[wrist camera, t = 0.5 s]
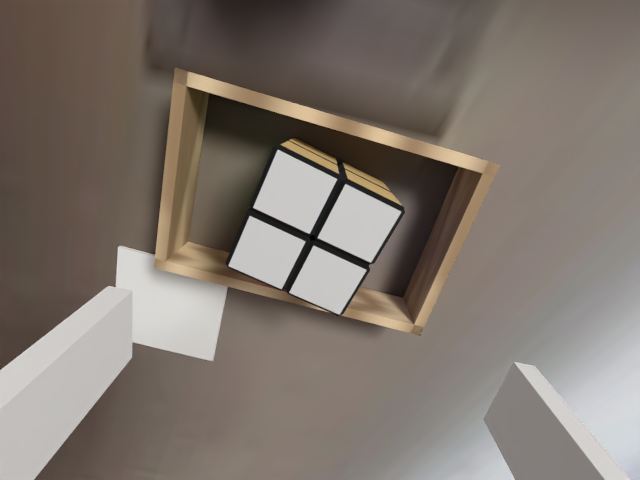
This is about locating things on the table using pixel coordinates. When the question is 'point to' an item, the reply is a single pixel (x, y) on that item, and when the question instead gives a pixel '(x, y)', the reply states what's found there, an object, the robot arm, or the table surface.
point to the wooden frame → (193, 105)
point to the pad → (170, 306)
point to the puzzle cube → (314, 226)
